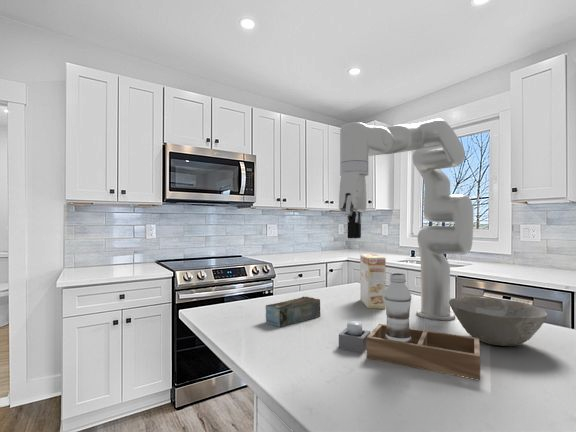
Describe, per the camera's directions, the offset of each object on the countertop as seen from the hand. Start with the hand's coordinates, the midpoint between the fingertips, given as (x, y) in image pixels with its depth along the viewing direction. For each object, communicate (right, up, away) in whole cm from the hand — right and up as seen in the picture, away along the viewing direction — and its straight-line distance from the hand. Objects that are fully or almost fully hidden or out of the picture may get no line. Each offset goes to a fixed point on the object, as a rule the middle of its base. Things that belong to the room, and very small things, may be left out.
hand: (354, 237), depth 90 cm
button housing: (0, -29, 0) cm, 29 cm away
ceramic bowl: (+40, -29, +3) cm, 49 cm away
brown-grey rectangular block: (-16, -30, +24) cm, 41 cm away
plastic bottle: (+10, -29, -6) cm, 31 cm away
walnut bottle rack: (+15, -29, -9) cm, 33 cm away
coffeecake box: (+16, -30, +45) cm, 57 cm away
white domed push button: (0, -25, 0) cm, 25 cm away
